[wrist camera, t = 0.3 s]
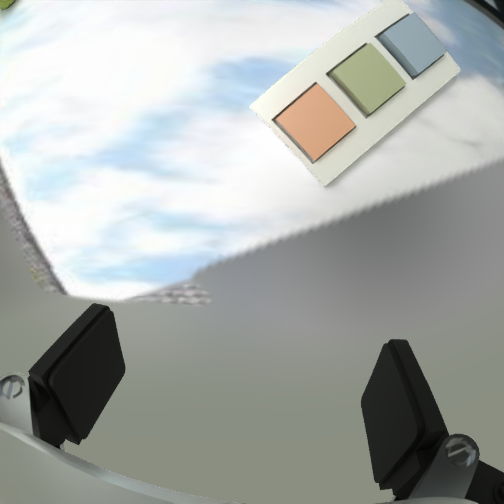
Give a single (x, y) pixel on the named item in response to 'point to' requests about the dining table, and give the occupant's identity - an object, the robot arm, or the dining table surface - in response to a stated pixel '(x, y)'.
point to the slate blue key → (413, 44)
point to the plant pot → (5, 3)
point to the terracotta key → (315, 122)
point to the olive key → (368, 78)
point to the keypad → (367, 125)
